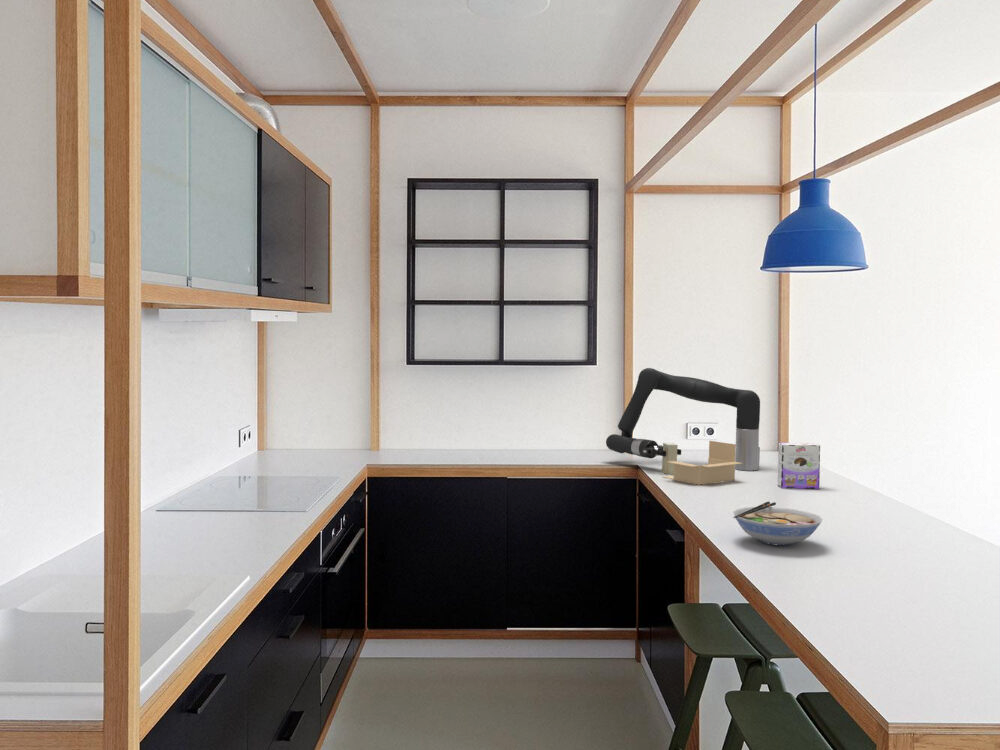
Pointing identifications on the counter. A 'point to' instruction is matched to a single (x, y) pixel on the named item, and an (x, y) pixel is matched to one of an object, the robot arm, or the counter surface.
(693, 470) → the carton
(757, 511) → the ramen bowl
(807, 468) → the candy box
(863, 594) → the counter surface
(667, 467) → the skincare box
